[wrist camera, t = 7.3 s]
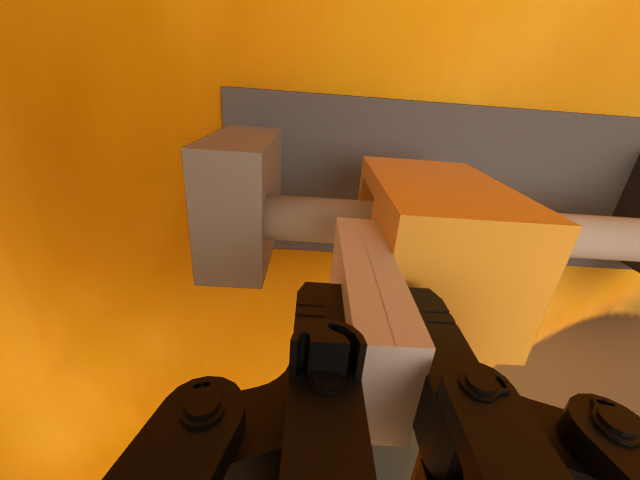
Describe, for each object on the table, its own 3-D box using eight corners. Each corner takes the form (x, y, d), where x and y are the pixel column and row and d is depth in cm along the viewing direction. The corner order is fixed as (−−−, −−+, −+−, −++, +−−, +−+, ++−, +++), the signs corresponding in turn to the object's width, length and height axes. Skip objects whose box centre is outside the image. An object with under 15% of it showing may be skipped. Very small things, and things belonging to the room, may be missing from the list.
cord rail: (231, 239, 24) (162, 365, 14) (225, 86, 20) (118, 89, 9) (637, 263, 25) (877, 398, 15) (710, 122, 21) (1121, 164, 10)
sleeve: (352, 248, 19) (375, 358, 11) (363, 156, 17) (400, 214, 9) (442, 253, 19) (524, 365, 11) (464, 162, 17) (582, 226, 9)
